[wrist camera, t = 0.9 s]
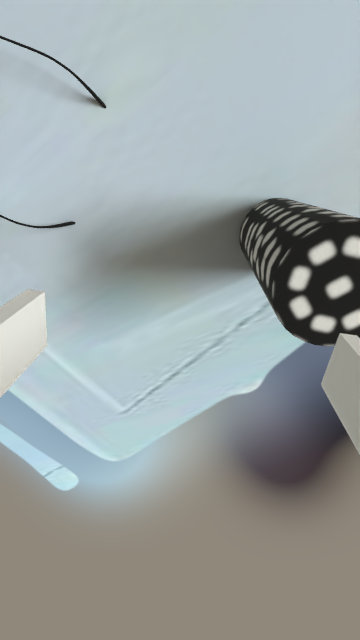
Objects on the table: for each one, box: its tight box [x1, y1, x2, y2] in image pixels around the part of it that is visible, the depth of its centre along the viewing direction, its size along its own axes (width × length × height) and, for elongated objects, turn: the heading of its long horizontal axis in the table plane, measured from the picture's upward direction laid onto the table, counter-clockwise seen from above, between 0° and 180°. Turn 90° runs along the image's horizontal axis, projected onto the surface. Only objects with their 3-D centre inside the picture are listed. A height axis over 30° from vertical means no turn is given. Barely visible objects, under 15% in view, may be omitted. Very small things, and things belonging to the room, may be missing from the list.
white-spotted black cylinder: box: [240, 198, 360, 346], centre depth 30 cm, size 8×8×20 cm
